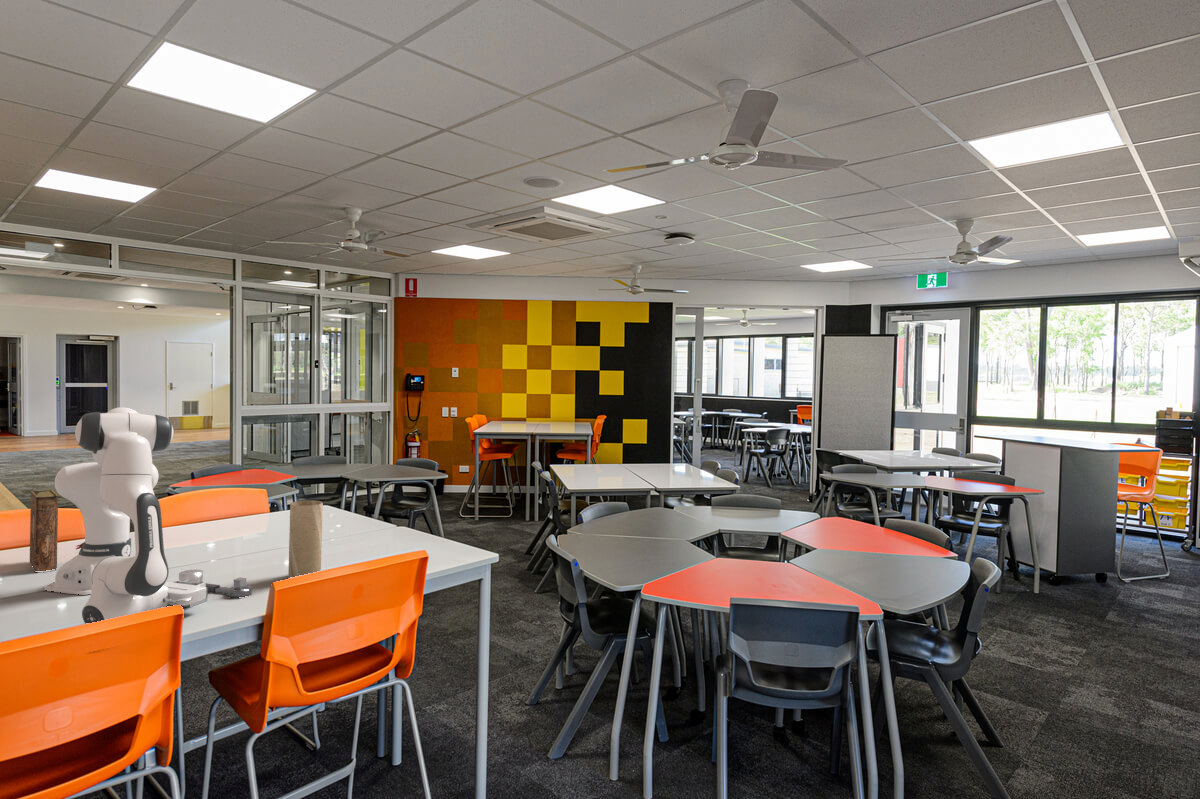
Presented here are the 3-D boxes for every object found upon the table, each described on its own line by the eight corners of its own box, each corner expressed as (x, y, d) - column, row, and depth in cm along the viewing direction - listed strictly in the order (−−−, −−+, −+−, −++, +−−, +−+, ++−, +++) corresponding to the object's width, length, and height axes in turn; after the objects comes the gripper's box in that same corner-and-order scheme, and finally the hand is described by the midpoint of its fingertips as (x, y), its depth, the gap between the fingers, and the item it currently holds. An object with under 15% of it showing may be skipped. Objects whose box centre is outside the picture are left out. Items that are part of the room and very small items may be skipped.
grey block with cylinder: (173, 604, 185) (173, 574, 185) (191, 598, 191) (191, 568, 191) (190, 607, 184) (190, 576, 183) (207, 600, 189) (208, 570, 189)
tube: (288, 582, 209) (290, 506, 208) (288, 573, 218) (290, 501, 217) (321, 579, 213) (323, 505, 213) (320, 571, 222) (322, 499, 222)
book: (57, 570, 213) (58, 496, 212) (35, 573, 209) (37, 497, 208) (50, 560, 224) (51, 489, 223) (29, 562, 220) (30, 490, 219)
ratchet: (188, 592, 196) (188, 576, 196) (205, 586, 202) (206, 570, 202) (240, 599, 192) (240, 583, 191) (256, 593, 198) (256, 577, 198)
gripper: (181, 591, 172) (222, 577, 185) (121, 583, 177) (166, 569, 190) (180, 614, 172) (222, 598, 186) (120, 605, 177) (165, 590, 190)
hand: (193, 583), depth 188 cm, fingers closed on grey block with cylinder, 6 cm apart
